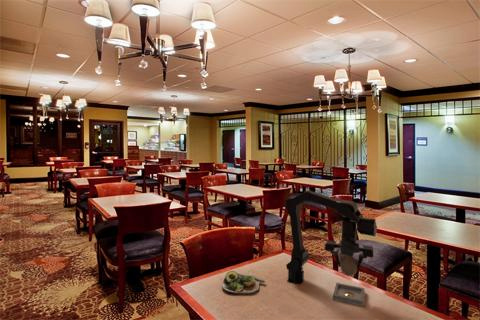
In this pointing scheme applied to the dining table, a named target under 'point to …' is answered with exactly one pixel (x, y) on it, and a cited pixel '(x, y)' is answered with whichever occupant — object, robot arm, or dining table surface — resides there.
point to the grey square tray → (349, 294)
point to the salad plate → (240, 283)
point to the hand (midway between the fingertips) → (348, 268)
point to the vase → (348, 265)
